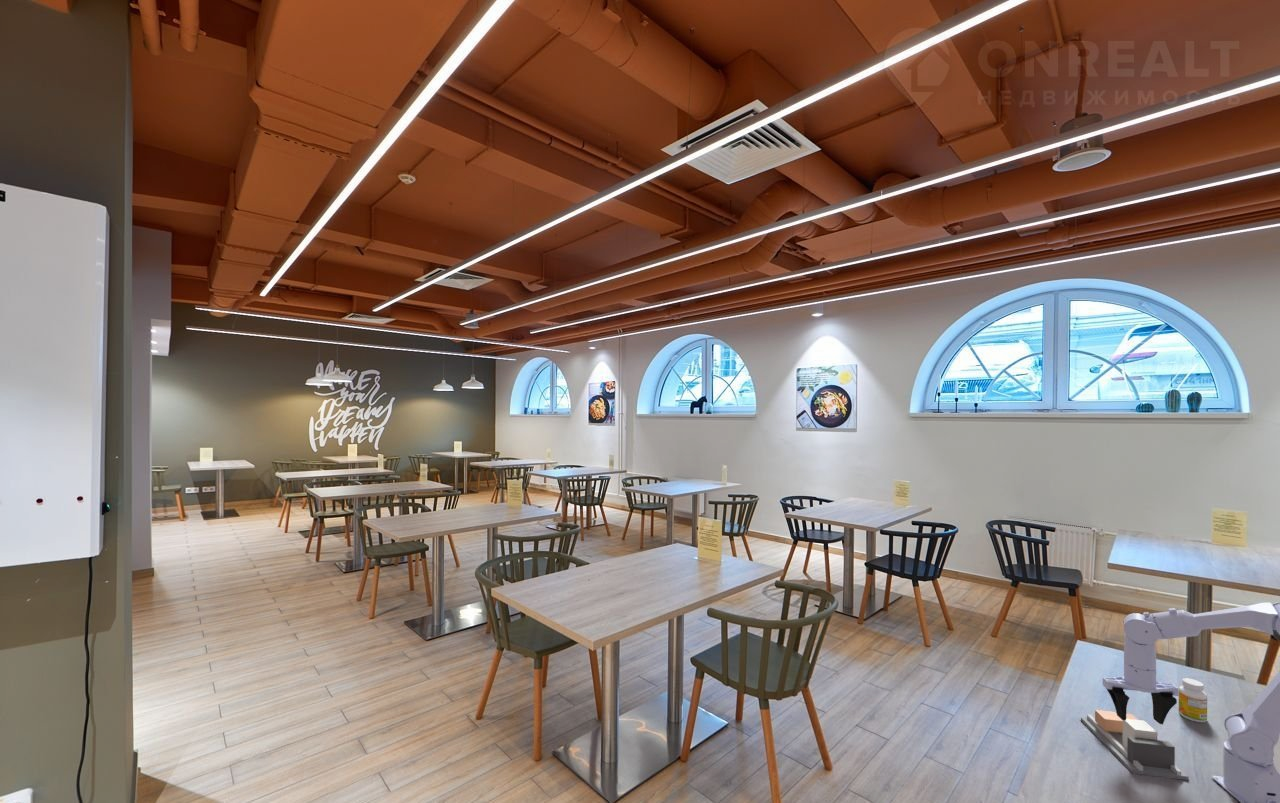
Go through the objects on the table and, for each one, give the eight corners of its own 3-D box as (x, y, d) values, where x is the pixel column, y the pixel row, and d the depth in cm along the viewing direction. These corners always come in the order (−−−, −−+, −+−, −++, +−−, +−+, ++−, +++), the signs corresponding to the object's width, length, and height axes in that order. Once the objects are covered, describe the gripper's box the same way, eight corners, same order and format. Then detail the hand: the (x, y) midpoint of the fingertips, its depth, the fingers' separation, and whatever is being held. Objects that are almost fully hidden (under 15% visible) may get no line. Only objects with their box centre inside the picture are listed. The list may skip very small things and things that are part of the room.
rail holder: (1188, 780, 120) (1188, 753, 119) (1132, 772, 122) (1132, 746, 122) (1128, 725, 139) (1128, 702, 139) (1080, 720, 142) (1080, 697, 141)
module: (1157, 760, 125) (1157, 732, 125) (1135, 758, 126) (1135, 729, 126) (1143, 748, 129) (1143, 720, 129) (1122, 745, 130) (1122, 718, 130)
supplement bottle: (1176, 708, 146) (1177, 674, 146) (1204, 715, 143) (1205, 680, 143) (1180, 717, 142) (1180, 682, 142) (1209, 725, 139) (1209, 689, 138)
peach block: (1142, 734, 132) (1142, 723, 132) (1104, 730, 134) (1104, 719, 134) (1131, 725, 136) (1131, 713, 136) (1094, 721, 138) (1095, 709, 138)
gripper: (1162, 659, 129) (1162, 713, 130) (1094, 653, 133) (1094, 706, 133) (1185, 674, 122) (1185, 731, 123) (1113, 668, 126) (1113, 723, 126)
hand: (1139, 719), depth 127 cm, fingers open, 7 cm apart
